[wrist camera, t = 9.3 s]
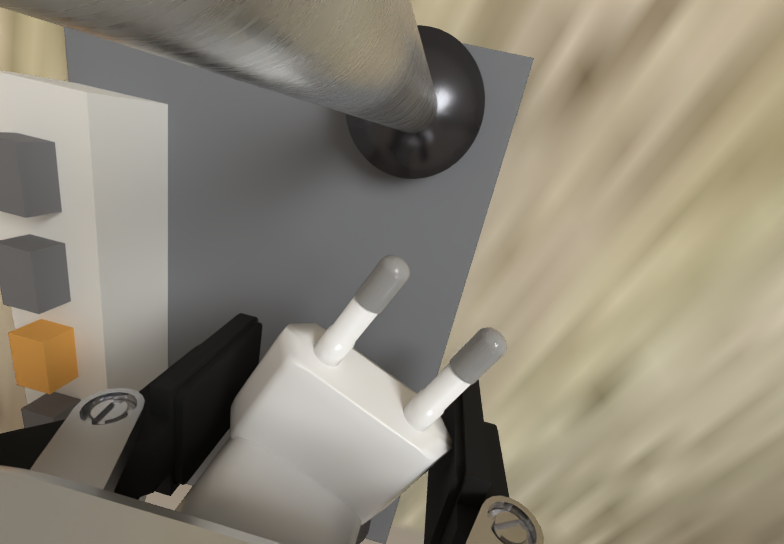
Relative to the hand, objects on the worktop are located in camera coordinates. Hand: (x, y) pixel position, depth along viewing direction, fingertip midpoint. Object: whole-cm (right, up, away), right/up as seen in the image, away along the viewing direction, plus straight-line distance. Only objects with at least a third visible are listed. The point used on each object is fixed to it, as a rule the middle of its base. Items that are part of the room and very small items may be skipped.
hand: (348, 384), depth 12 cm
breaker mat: (-4, +2, +4) cm, 6 cm away
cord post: (+2, +9, 0) cm, 9 cm away
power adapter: (0, 0, +1) cm, 1 cm away
